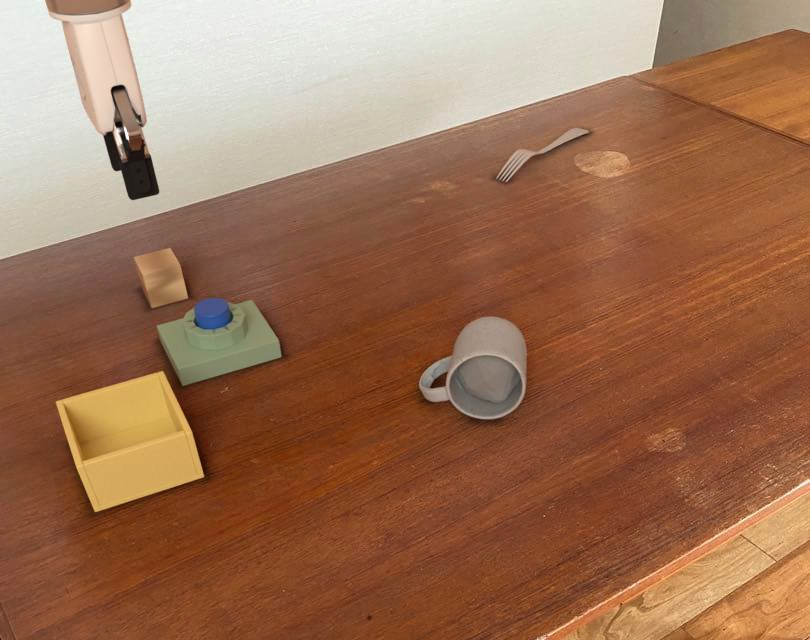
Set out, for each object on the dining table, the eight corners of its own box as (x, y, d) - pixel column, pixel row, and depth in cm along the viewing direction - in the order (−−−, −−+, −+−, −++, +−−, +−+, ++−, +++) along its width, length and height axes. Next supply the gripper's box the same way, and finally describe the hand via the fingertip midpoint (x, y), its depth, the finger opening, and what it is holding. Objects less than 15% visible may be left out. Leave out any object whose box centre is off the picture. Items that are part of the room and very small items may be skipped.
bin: (95, 512, 78) (76, 467, 74) (73, 446, 84) (55, 401, 80) (204, 477, 81) (192, 431, 76) (175, 415, 87) (163, 370, 83)
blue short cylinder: (202, 334, 90) (199, 319, 89) (193, 317, 92) (189, 302, 91) (235, 325, 91) (232, 310, 90) (225, 308, 93) (222, 294, 92)
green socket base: (182, 386, 90) (173, 354, 87) (160, 342, 96) (152, 310, 93) (282, 357, 93) (276, 325, 90) (255, 316, 99) (249, 285, 96)
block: (151, 308, 101) (142, 274, 97) (142, 290, 103) (133, 256, 100) (188, 298, 102) (180, 264, 99) (178, 281, 104) (170, 247, 101)
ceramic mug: (525, 372, 90) (529, 307, 84) (523, 422, 84) (528, 356, 79) (423, 369, 91) (421, 304, 86) (415, 418, 86) (412, 353, 80)
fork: (589, 149, 132) (592, 130, 130) (509, 183, 119) (511, 162, 118) (573, 144, 133) (576, 125, 131) (492, 177, 121) (495, 157, 119)
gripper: (29, -26, 84) (84, 158, 97) (61, 25, 73) (119, 224, 86) (106, -38, 86) (150, 144, 99) (149, 10, 75) (192, 207, 88)
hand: (135, 180), depth 92 cm, fingers open, 7 cm apart
